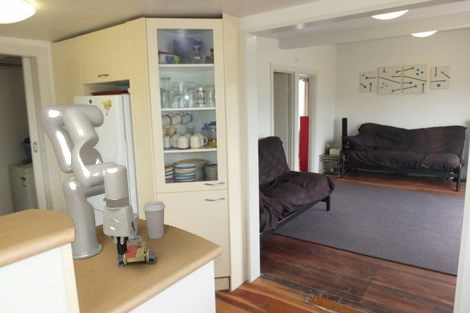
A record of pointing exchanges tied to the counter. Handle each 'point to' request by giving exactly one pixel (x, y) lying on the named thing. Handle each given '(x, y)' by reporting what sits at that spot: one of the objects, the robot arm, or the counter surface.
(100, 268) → the counter surface
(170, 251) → the counter surface
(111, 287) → the counter surface
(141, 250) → the valve body
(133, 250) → the lever
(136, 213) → the dixie cup
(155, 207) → the coffee cup
